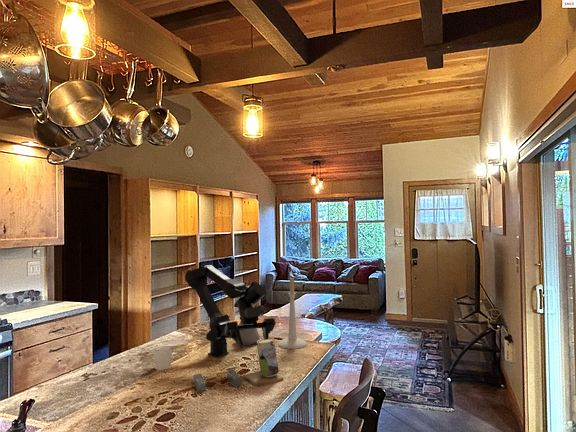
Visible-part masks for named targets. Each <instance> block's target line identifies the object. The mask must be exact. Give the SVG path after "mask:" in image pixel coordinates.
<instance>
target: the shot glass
mask: <svg viewBox="0 0 576 432" xmlns="http://www.w3.org/2000/svg"><path fill="white" fill-rule="evenodd" d="M172 357H173V347H172V346H170V345H163V346H158V347H154V348H153V358H154V369H155V370H157V371H164V370H167V369H170V368H171V367H172Z"/></svg>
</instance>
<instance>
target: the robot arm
mask: <svg viewBox="0 0 576 432" xmlns="http://www.w3.org/2000/svg"><path fill="white" fill-rule="evenodd" d="M207 278H208V279H210V280H211V281H212V282H214V283H216V285H218V286H219V287H221V288H222V289H223V293H224V294H225V295H226V296H227V297H228V298H229V299H231V300H234V299H237V300H236V301H235V303H234V304H233V307H234V308H238V313H239V321H241V323H242V324H240V323H238V320H235V321H232V320H231V319H230V318H229V315H228V314H227V313H226V314H223V313H221V311H220V308H219V307H218V305H217V303H216V301H215V299H214V297H213V296H212V293H211V291H210V290H209V289H210V288H208V286H207V285H208V284H207V281H208V279H207ZM184 280H185V282H186V283H187V284H188V286H189V287H190V288H192V289H193V290H194V291H195V292H196V294H197V296H198V299H199V300H200V302H201V304H202V306H203V308H204V310H205V312H206V313H207V316H208V319H209V326H208V327H209V329H210V330H209V331H208V332H207V333H206V334H205V337H206V340H207V341H210V342H209V343H210V344H209V345H210V348H209V349H210V352H207V355H208V356H213V357H218V358H220V357H222V356H225V355H228V354H230V351H228V343H227V342H228V340H227V338H228V339H229V338H231V339H232V340H233V341H235V343H236V344H237V345H238V346H239V348H240V349H241V350H244V345H243V342H242V339H241V336H240V331H239V330H245V329H257V330H258V329H261V331H262V337H263V340H267V339H269V335H270V333H272V332H273V331H274V328H275V327H276V319H275V318H274V317H265V318H264V319H263V321H262V322H258V321H259V318H260V317H261V316H262V315H264V314H265V309H264V306H263V305H261V304H260V305H259V304H258V303H259V302H260V301H261V300H262V299H263V298H264V297H265V295H266V294H267V291H266V290H267V289H266V288H265V287H264V285H261V284H259V283H258V282H257V281H252V282H251V283H250V285H249V286H246V284H245V283H244V282H241V281H239V280H236V279H232V278H230V277H229V276H227V275H225V274H224V273H223V272H221V271H220V270H219V269H217V268H215V266H214V265H212V264H207V265H203V266H199V267H197V268H195V269H190V270H189V269H188V270H187V271H186V273H185V275H184ZM256 304H258V305H257V307H254V306H253V305H256Z"/></svg>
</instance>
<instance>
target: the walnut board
mask: <svg viewBox="0 0 576 432" xmlns="http://www.w3.org/2000/svg"><path fill="white" fill-rule="evenodd" d="M242 378H243V379H244V380H246V381H248V382H249V383H251V384H253V385H254V386H256V387H263V386H266V385H269V384H274V383H276V382H277V383H278V382H281V381H284V377H283V376H281V375H280V374H279V373H277V375H275V376H272V377H264V376H262V375H261V370H260V371H255V372H252V373H247V374H244V375H242Z"/></svg>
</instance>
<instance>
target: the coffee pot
mask: <svg viewBox="0 0 576 432" xmlns="http://www.w3.org/2000/svg"><path fill="white" fill-rule="evenodd" d="M257 306H258V303H256V304H254V306H253V307H257ZM239 324H242V323H241V320H239ZM239 331H240V336H241V339H242V342H243V346H251V344H252V345H254V344H256V343H255V342H258V341H259V339H260V337H261V336H260V332H259V331H258V328H257V329H245V330H239Z"/></svg>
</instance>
